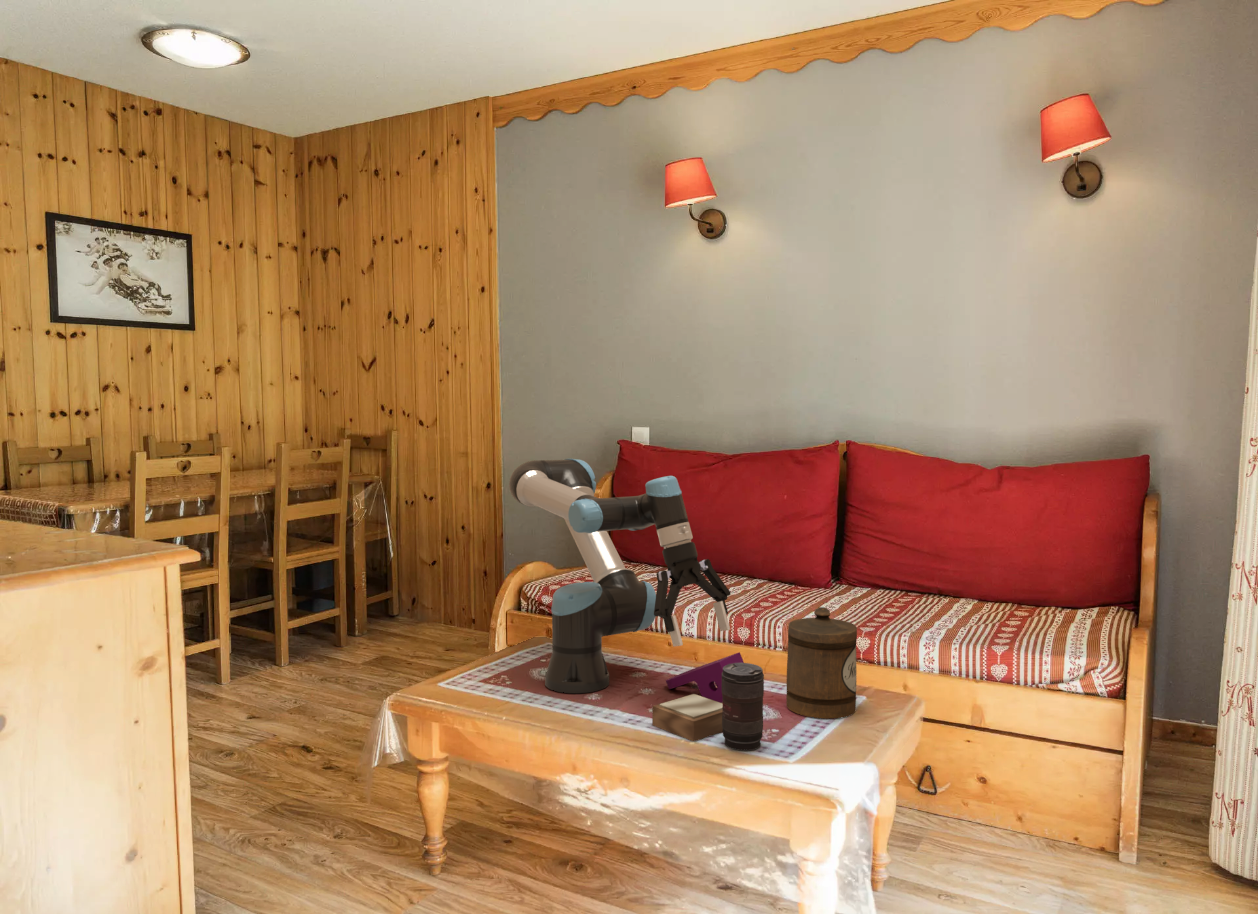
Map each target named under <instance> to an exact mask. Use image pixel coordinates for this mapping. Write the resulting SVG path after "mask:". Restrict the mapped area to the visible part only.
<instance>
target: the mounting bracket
mask: <svg viewBox="0 0 1258 914" xmlns="http://www.w3.org/2000/svg"><path fill="white" fill-rule="evenodd" d="M733 663H745V662H744V659H743V657H742V654H741V652H737V653H734V654H731V655H729V656H725V657H722V658H720V659H716V660H714V661H711V662H707V663H706V664H702V665H700V666H698V667H695V668H693V669H689V670H686V671H684V672H681V673H678V674H677V675H675V676H672V677H670V678H668V679H665V683H666V685H667V688H668V690H671V689H675V688H677V687H680V686H683V685H686V684H689V683H692V682H695V683H696V686H697V688H698V691H699V693H700V696H702V697H705V698H708V699H711V700H714V701H717V702H720V703H723V696H722V672H723V667H724V666H726V665H728V664H733Z"/></svg>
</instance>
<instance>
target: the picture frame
mask: <svg viewBox="0 0 1258 914" xmlns="http://www.w3.org/2000/svg"><path fill="white" fill-rule="evenodd" d="M722 707H723V702H722V703H720V702H717V701H714V700H711V699H708V698H705V697H703V696H702V695H700V694H699V695H698V694H696V693H691V694H689V695H685V696H682V697H678V698H675V699H670V700H669V701H664V702H662V703H658V704H655V705H652V715H651V716H652V717H651V718H652V719H651V720H652V726H653V727H656V728H658V729H661V730H663V731H666V732H668V733H671V734H674V735H676V736H678V737H682V738H684V739H686V740H689V741H692V742H697V741H699V740H702V739H706V738H709V737H711V736H715V735H718V734H719V733H723V729H722Z"/></svg>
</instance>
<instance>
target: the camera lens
mask: <svg viewBox="0 0 1258 914" xmlns="http://www.w3.org/2000/svg"><path fill="white" fill-rule="evenodd" d="M763 672H764V670H763V668H762V667H761V666H760V665H757V664H754V663H750V662H744V663H733V664H728V665H726V666H724V667H723V672H722V696H723V702H722V703H723V707H722V729H723V732H722V736H723V737H724V743H725V746H726V747H728V748H730V749H732V750H735V751H736V750H737V751H754V750H757V749H758V748H760V745H761V739H762V738H763V732H764V693H765V685H764V684H765V681H764V680H765V677H764V676H765V674H764V673H763Z"/></svg>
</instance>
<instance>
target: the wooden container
mask: <svg viewBox="0 0 1258 914" xmlns="http://www.w3.org/2000/svg"><path fill="white" fill-rule="evenodd" d="M813 613H814V616H815V617H805V618H799V619H798V618H797V619H795V620H794V619H793V620H791V621H790V622H789V623H788V629H787V633H788V634H787V638H788V639H787V640H788V641H787V663H786V695H785V696H786V697H785V698H786V700H785V701H786V707H787V708H788V710H790V711H791V712H793V713H795V714H797V715H799V714H800V716H803V715H804V716H803V717H807V718H812V717H814V718H813V719H820V718H821V720H831V719H832V720H835V719H834V718H836V719H842V718H841V717H843V718H847V717H849V715H850V716H852V715H853V714H855V712H856V711H857V708H856V707H857V674H858V673H857V672H858V671H857V640H858V627H857V626H856V625H855V624H854V623H853V622H849V621H845V620H840V619H837V618H836V619H835V618H830V616H831V611H830V610H829V609H828V608H827V607H824V606H822V607H820V606H819V607H817V608H816V609H815V610H814V612H813ZM855 710H856V711H855ZM851 714H852V715H851ZM846 716H847V717H846Z"/></svg>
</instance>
